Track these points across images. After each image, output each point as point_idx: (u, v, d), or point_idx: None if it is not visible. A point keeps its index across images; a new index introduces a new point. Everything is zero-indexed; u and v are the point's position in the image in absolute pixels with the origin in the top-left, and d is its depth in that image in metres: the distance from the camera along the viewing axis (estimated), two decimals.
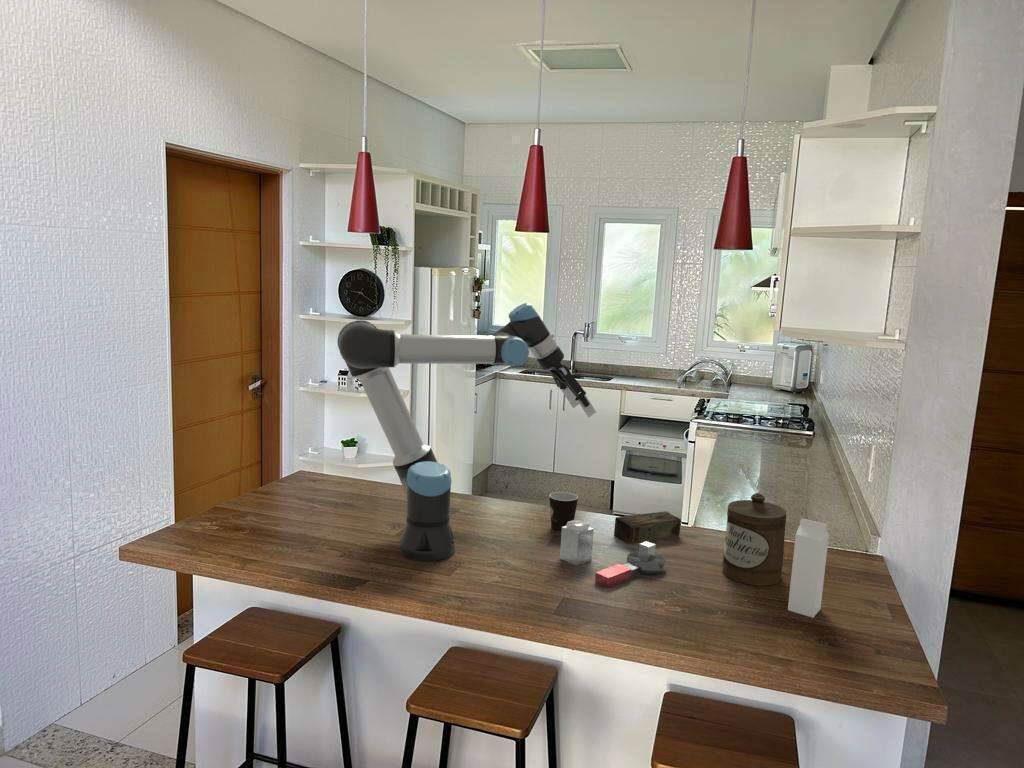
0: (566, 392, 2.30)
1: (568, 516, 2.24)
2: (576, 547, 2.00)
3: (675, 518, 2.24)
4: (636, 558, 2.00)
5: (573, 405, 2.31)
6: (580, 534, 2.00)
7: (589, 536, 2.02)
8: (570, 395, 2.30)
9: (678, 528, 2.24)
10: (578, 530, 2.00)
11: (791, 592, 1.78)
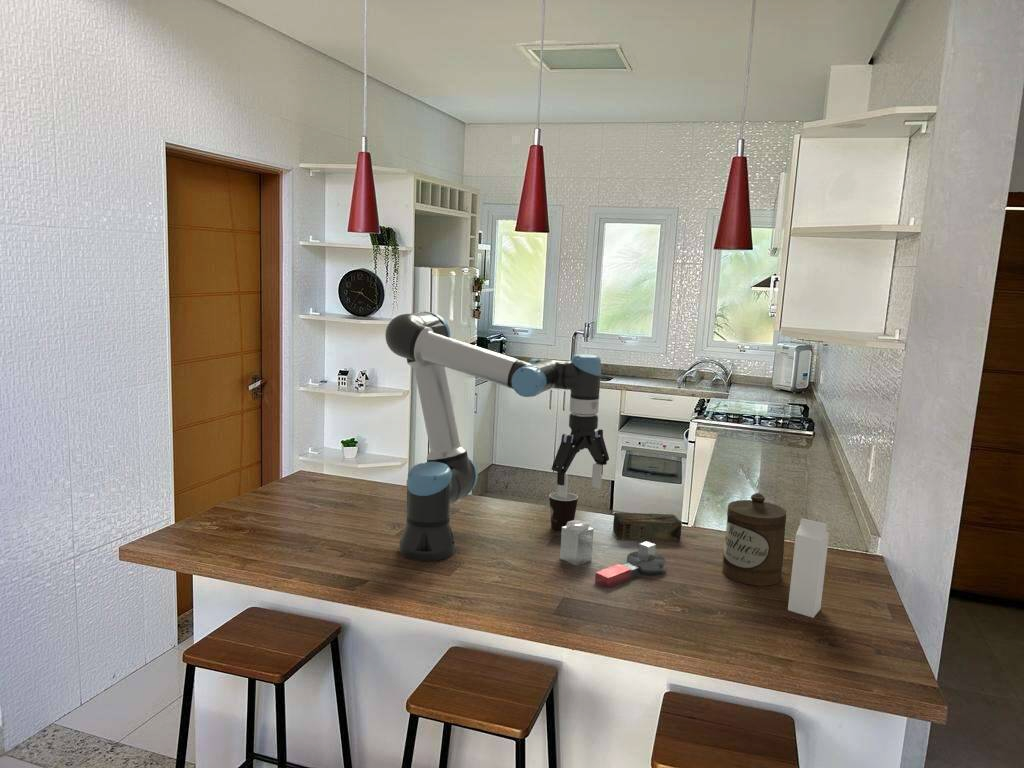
0: (594, 467, 2.06)
1: (568, 516, 2.24)
2: (576, 547, 2.00)
3: (676, 521, 2.22)
4: (636, 558, 2.00)
5: (592, 484, 2.07)
6: (580, 534, 2.00)
7: (589, 536, 2.02)
8: (596, 473, 2.06)
9: (678, 532, 2.21)
10: (578, 530, 2.00)
11: (791, 592, 1.78)
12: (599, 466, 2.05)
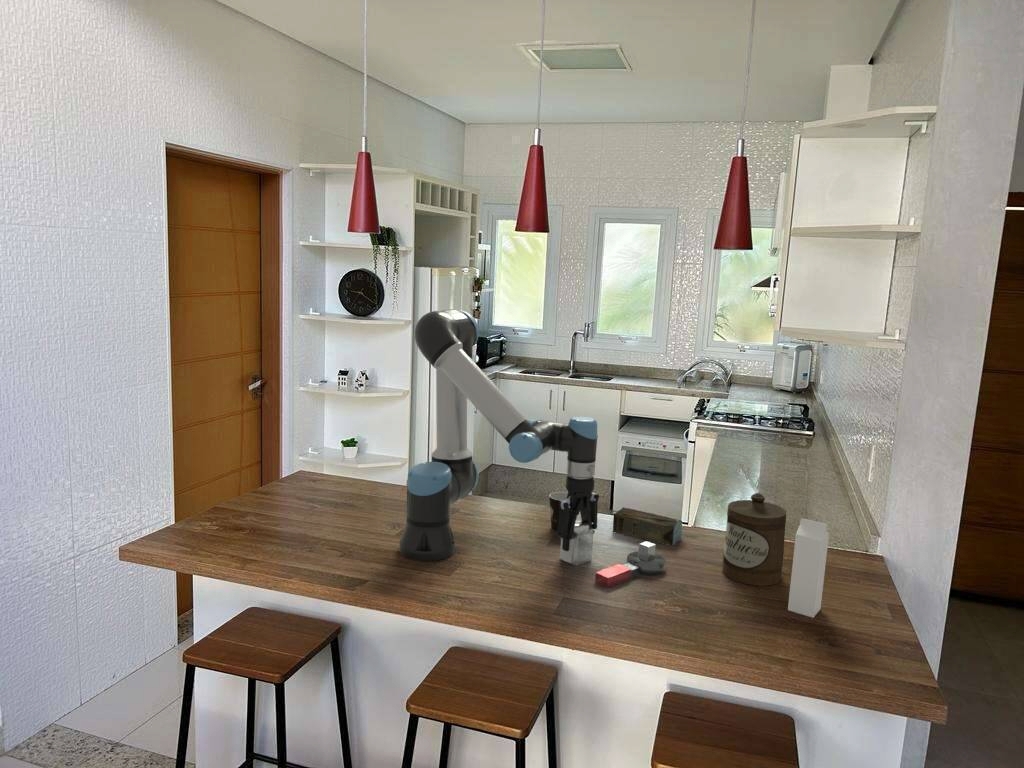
0: None
1: None
2: (576, 547, 2.00)
3: (670, 525, 2.18)
4: (636, 558, 2.00)
5: None
6: (580, 534, 2.00)
7: (589, 536, 2.02)
8: None
9: (670, 536, 2.17)
10: (578, 530, 2.00)
11: (791, 592, 1.78)
12: None
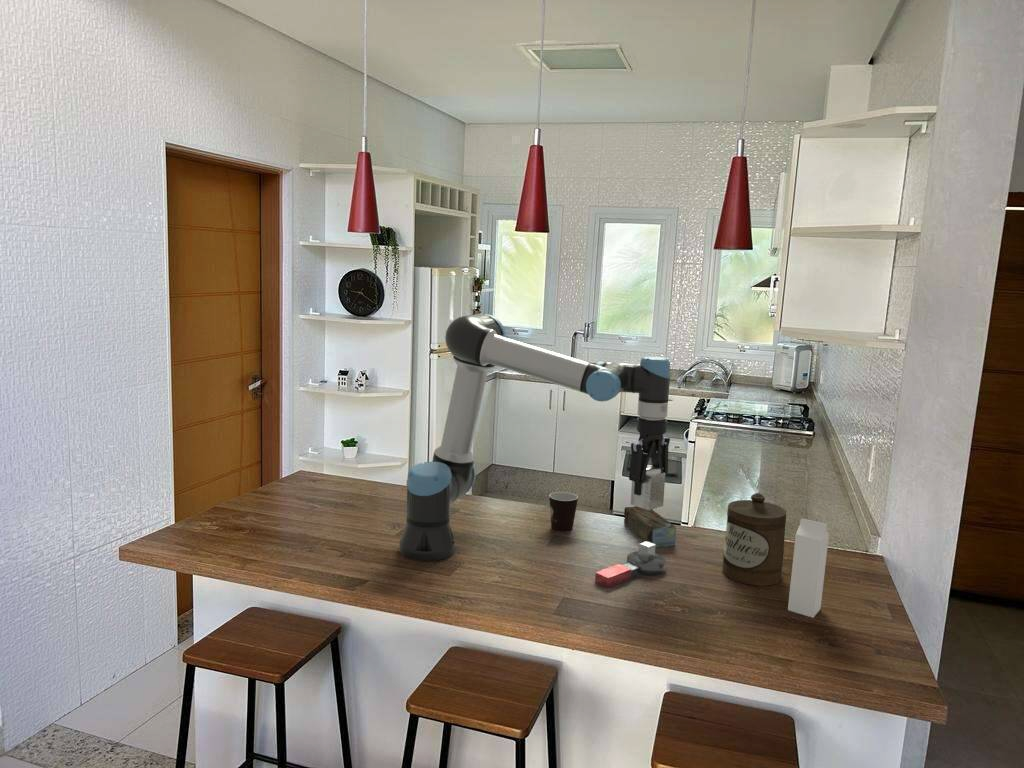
0: None
1: (568, 516, 2.24)
2: (649, 491, 1.94)
3: (653, 526, 2.17)
4: (636, 558, 2.00)
5: None
6: (653, 477, 1.94)
7: (661, 480, 1.96)
8: None
9: (650, 537, 2.16)
10: (650, 473, 1.94)
11: (791, 592, 1.78)
12: None
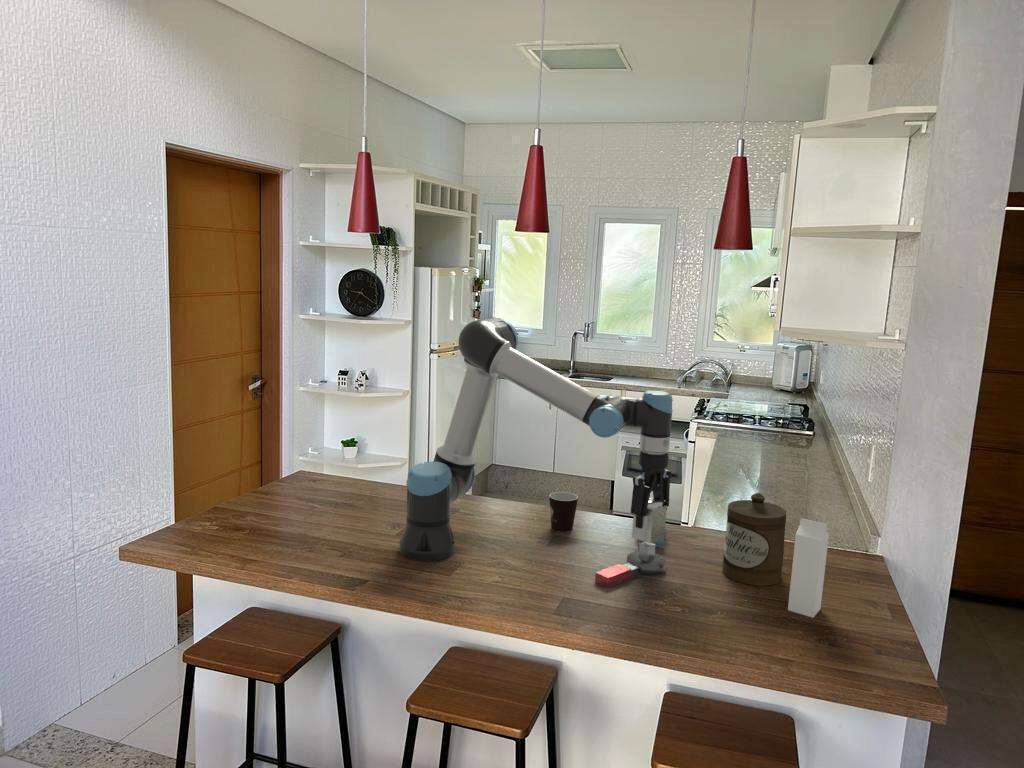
0: None
1: (568, 516, 2.24)
2: (650, 524, 1.95)
3: None
4: (636, 558, 2.00)
5: None
6: (654, 511, 1.95)
7: (662, 513, 1.98)
8: None
9: None
10: (652, 507, 1.96)
11: (791, 592, 1.78)
12: None
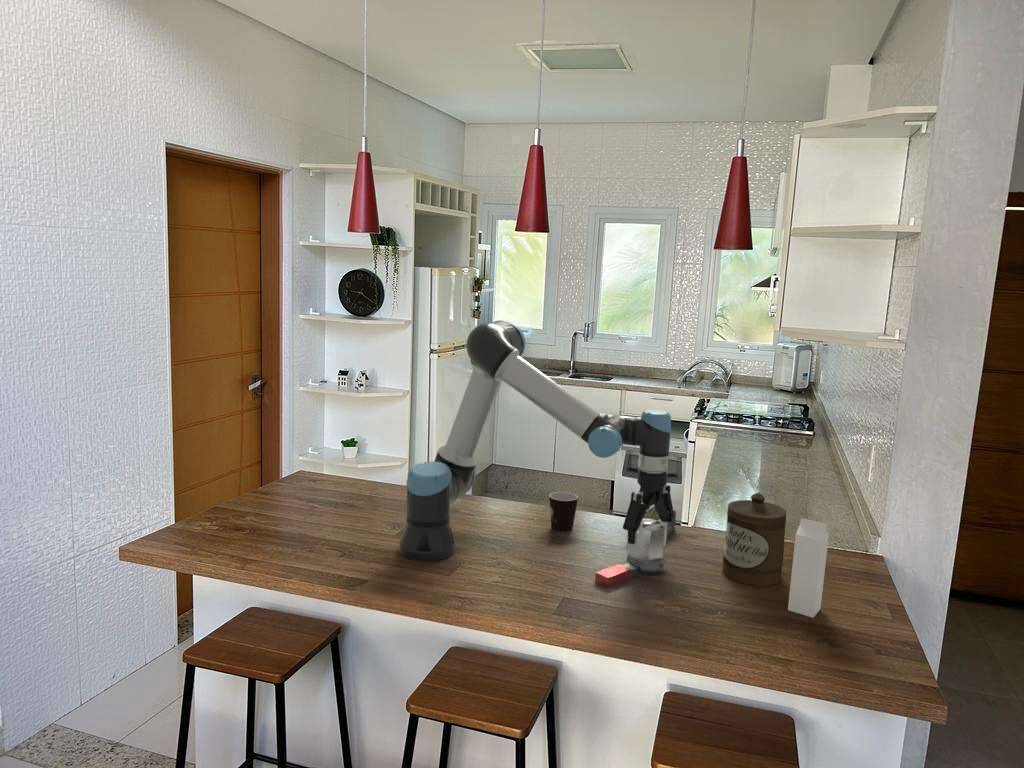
0: None
1: (568, 516, 2.24)
2: (648, 546, 1.96)
3: None
4: None
5: None
6: (652, 532, 1.96)
7: (660, 534, 1.99)
8: None
9: None
10: (650, 528, 1.96)
11: (791, 592, 1.78)
12: (664, 523, 2.03)
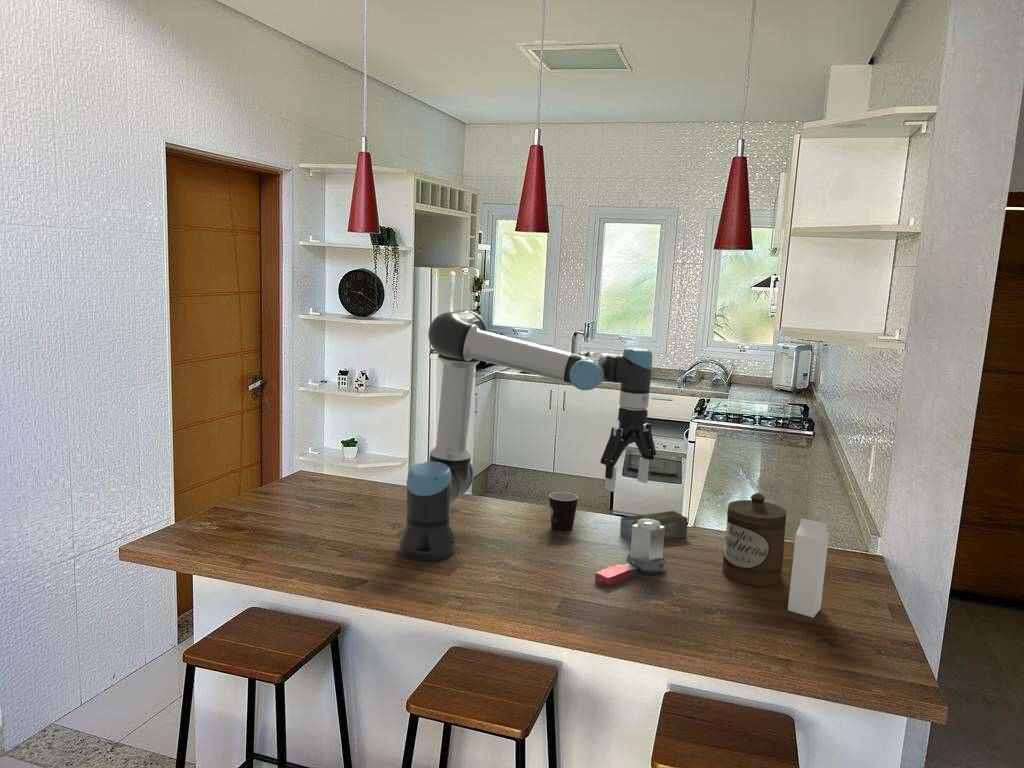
0: (641, 462, 2.05)
1: (568, 516, 2.24)
2: (648, 546, 1.96)
3: (626, 517, 2.24)
4: None
5: (639, 478, 2.06)
6: (652, 532, 1.96)
7: (660, 534, 1.99)
8: (642, 468, 2.05)
9: None
10: (650, 528, 1.96)
11: (791, 592, 1.78)
12: (646, 461, 2.04)
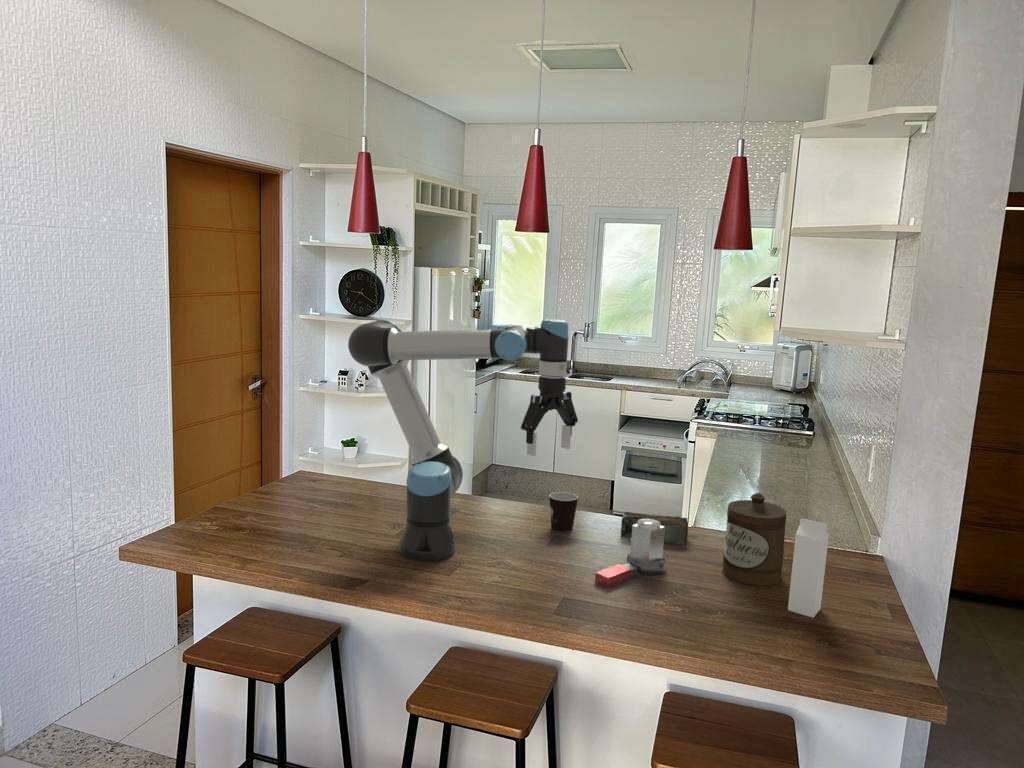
0: (564, 429, 2.16)
1: (568, 516, 2.24)
2: (648, 546, 1.96)
3: (628, 512, 2.28)
4: None
5: (562, 444, 2.17)
6: (652, 532, 1.96)
7: (660, 534, 1.99)
8: (565, 434, 2.16)
9: None
10: (650, 528, 1.96)
11: (791, 592, 1.78)
12: (568, 427, 2.14)
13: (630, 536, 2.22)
